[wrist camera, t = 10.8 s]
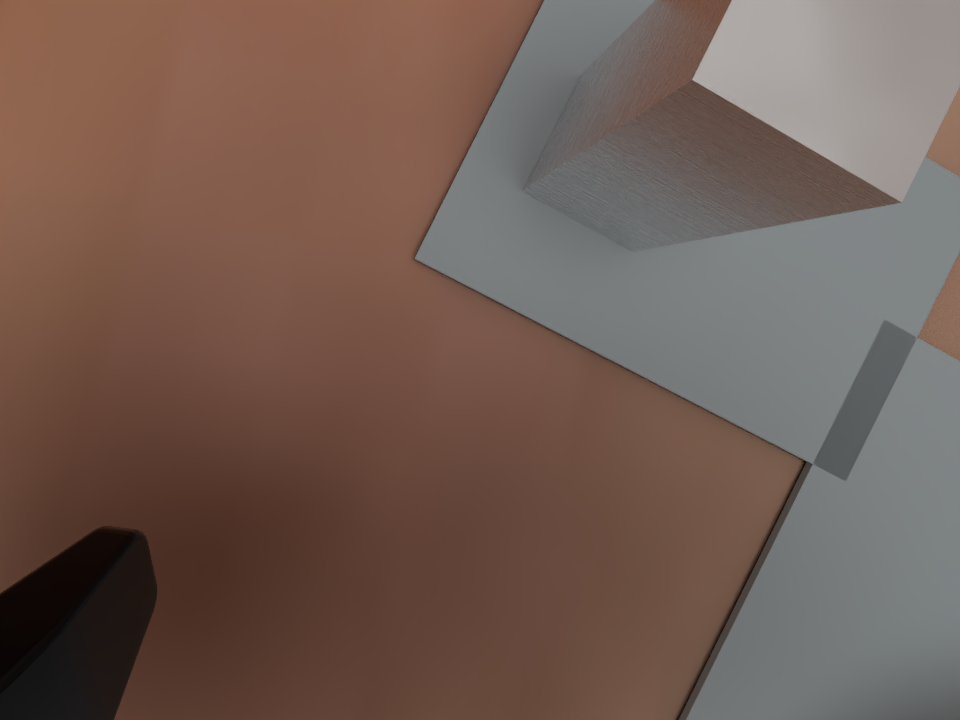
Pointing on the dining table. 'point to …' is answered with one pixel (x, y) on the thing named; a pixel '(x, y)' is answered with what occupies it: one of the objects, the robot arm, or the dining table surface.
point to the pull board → (757, 298)
